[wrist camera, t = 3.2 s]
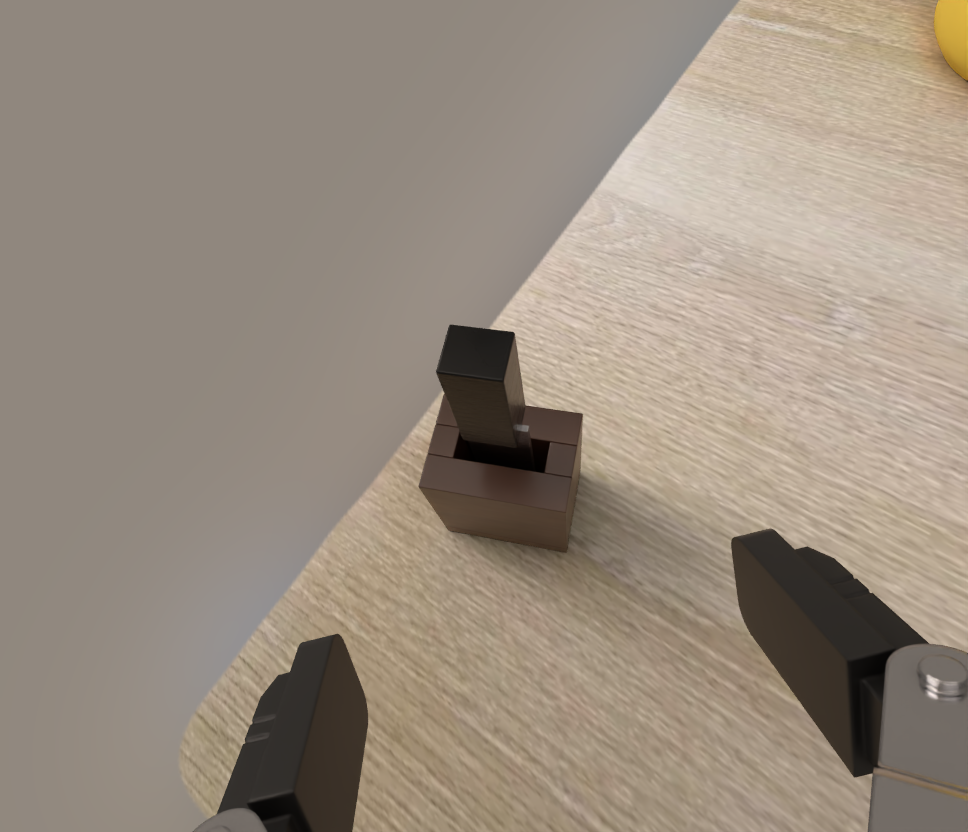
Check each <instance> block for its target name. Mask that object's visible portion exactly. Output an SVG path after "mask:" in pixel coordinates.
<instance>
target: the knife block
mask: <svg viewBox="0 0 968 832" xmlns="http://www.w3.org/2000/svg"><path fill="white" fill-rule="evenodd" d="M525 407H526V408H525V413H524V418H523V423H522V425H526V426H529V429H530V436H531V443H532V450H533V457H534V464H535V471H536V472H534V471H527V470H521V469H515V468H509V467H503V466H497V465H491V464H485V463H479V462H476V461H475V458H474V455H473V453H472V450H471V448H470V445H469V442H468V441H467V440H463V438H462V436H461V433H460V431H459V428H458V426H457V423H456V421H455V418H454V416H453V413H452V411H451V408H450V406H449V403H448V401H447V398H446V396H445V394H444V396H443V399H442V403H441V406H440V410H439V414H438V417H437V421H436V425H435V428H434V432H433V435H432V439H431V443H430V446H429V450H428V454H427V457H426V461H425V465H424V468H423V472H422V476H421V479H420V483H419V488H420V489H421V491H422V492H423V494H424V495H425V497H426V498H427V500H428V501H429V503H430V504H431V506H432V507H433V508H434V510H435V511H436V513H437V514H438V516H439V517H440V519H441V520H442V522H443V523H444V525H445V526H446V527H447V529H448V530H449V531H455V532H460V533H465V534H470V535H476V536H481V537H486V538H491V539H497V540H502V541H507V542H512V543H518V544H523V545H528V546H534V547H539V548H544V549H549V550H555V551H560V552H565V553H566V552H567V549H568V543H569V537H570V531H571V525H572V519H573V513H574V507H575V501H576V495H577V488H578V482H579V476H580V468H581V445H582V423H583V414H581V413H574V412H567V411H560V410H553V409H546V408H539V407H532V406H525Z"/></svg>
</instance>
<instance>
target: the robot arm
mask: <svg viewBox="0 0 968 832" xmlns="http://www.w3.org/2000/svg"><path fill="white" fill-rule="evenodd" d="M731 548H732V556H733V564H734V572H735V580H736V588H737V595H738V602H739V607H740V611H741V614H742V617H743V619H744V622H745V624H746V626H747V628H748V630H749V632H750V633H751V635H752V636H753V638H754V639H755V641H756V642H757V643H758V645H759V646H760V647H761V649H762V650H763V652H764V653H765V654H766V656H767V657H768V659H769V660H770V661H771V663H772V664H773V665H774V667H775V668H776V670H777V671H778V672H779V674H780V675H781V677H782V678H783V679H784V681H785V682H786V683H787V685H788V686H789V688H790V689H791V690H792V692H793V693H794V695H795V696H796V697H797V699H798V700H799V701H800V703H801V704H802V706H803V707H804V708H805V710H806V711H807V713H808V714H809V715H810V717H811V718H812V719H813V721H814V722H815V724H816V725H817V726H818V728H819V729H820V731H821V732H822V733H823V735H824V736H825V737H826V739H827V740H828V742H829V743H830V744H831V746H832V747H833V749H834V750H835V751H836V753H837V754H838V755H839V757H840V758H841V760H842V761H843V762H844V764H845V765H846V767H847V768H848V769H849V771H850V772H851V774H852V775H853V776H854V778H855V777H859V776H863V775H867V774H871V773H873V777H872V788H871V800H870V811H869V823H868V832H968V653H966V652H964V651H962V650H958V649H955V648H952V647H948V646H943V645H936V644H929V643H928V642H927V641H926V640H925V639H923V638H922V637H921V636H920V635H919V634H918V633H917V632H916V631H915V630H913V629H912V628H911V627H910V626H909V625H908V624H907V623H906V622H904V621H903V620H902V619H901V618H900V617H899V616H898V615H897V614H896V613H894V612H893V611H892V610H891V609H890V608H889V607H888V606H887V605H885V604H884V603H883V602H882V601H881V600H880V599H879V598H878V597H877V596H875V595H874V594H873V593H870V592H869V590H868V588H867V587H865V586H864V585H863V584H862V583H861V582H860V581H859V580H858V579H854V578H853V575H852V574H851V573H850V572H849V571H848V570H846V569H845V568H844V567H843V566H842V565H841V564H840V563H839V562H837V561H836V560H835V559H834V558H832V557H830V556H827V555H825V554H823V553H821V552H818V551H816V550H814V549H812V548H809V547H804V548H800V549H796V550H795V549H793V548H792V547H791V546H790V545H789V544H788V543H787V542H786V541H785V540H784V539H783V538H782V537H781V536H780V535H779V534H778V533H777V532H776V531H775V530H773V529H766V530H762V531H758V532H754V533H750V534H746V535H742V536H738V537H734V538H733V539H732V542H731ZM252 722H253V724H252V725H250V727H249V730H248V733H247V735H246V738H245V744H243V746H242V749H241V751H240V754H239V757H238V759H237V762H236V765H235V767H234V770H233V773H232V775H231V778H230V781H229V783H228V786H227V789H226V791H225V794H224V796H223V799H222V802H221V804H220V807H219V810H218V812H217V815H215V816H213V817H211V818H209V819H208V820H207V821H205V822H204V823H202V824H201V825H200V826H199V827H197V828H196V829H195V830H194V831H193V832H352V829H353V822H354V816H355V809H356V802H357V795H358V789H359V782H360V775H361V768H362V762H363V755H364V748H365V741H366V735H367V728H368V710H367V703H366V698H365V695H364V691H363V689H362V686H361V684H360V681H359V678H358V676H357V673H356V671H355V668H354V666H353V663H352V660H351V658H350V655H349V653H348V650H347V648H346V645H345V643H344V640H343V639H342V637H341V636H340V635H339V634H335V635H331V636H327V637H323V638H319V639H315V640H311V641H306V642H302V643H301V644H300V645H299V647H298V650H297V653H296V656H295V659H294V662H293V665H292V668H291V671H290V672H289V673H285V674H281V675H278V676H277V677H276V679H275V680H274V681H273V683H272V684H271V685H270V686H269V688H268V689H267V690H266V691H265V693H264V694H263V695H262V696H261V698H260V701H259V703H258V706H257V709H256V711H255V714H254V717H253V719H252Z"/></svg>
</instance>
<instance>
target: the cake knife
mask: <svg viewBox="0 0 968 832" xmlns="http://www.w3.org/2000/svg"><path fill="white" fill-rule="evenodd" d="M436 372H437V376H438V378H439V381H440V383H441V386H442V388H443V391H444V393H445V396H446V398H447V401H448V403H449V406H450V408H451V411H452V413H453V416H454V418H455V421H456V423H457V426H458V428H459V431H460V433H461V436H462V438H463V440H467V441H468V442H469V445H470V448H471V450H472V453H473V455H474V458H475V461H476V462H479V463H485V464H491V465H497V466H503V467H509V468H515V469H521V470H527V471H534V472H536V471H535V464H534V457H533V450H532V443H531V436H530V429H529V426H526V425H522V423H523V418H524V413H525V408H526V407H525V400H524V393H523V387H522V380H521V373H520V366H519V359H518V352H517V346H516V339H515V333H514V332H508V331H500V330H491V329H483V328H474V327H466V326H458V325H450V326H449V328H448V331H447V335H446V339H445V342H444V346H443V349H442V353H441V356H440V360H439V363H438V367H437V370H436Z"/></svg>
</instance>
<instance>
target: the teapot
mask: <svg viewBox="0 0 968 832" xmlns="http://www.w3.org/2000/svg"><path fill="white" fill-rule="evenodd" d="M934 30H935V34H936V38H937V41H938V44H939V47H940V49H941V51H942V53H943V56H944V58H945V60H946V61H947V63H948V64H949V65H950V67H951V68H952V69H953V70H954V71H955V72H956V73H957V74H959V75H960V76H961V77H962V78H964V79H965V80H967V81H968V0H939V1H938V4H937V6H936V10H935V17H934Z"/></svg>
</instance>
